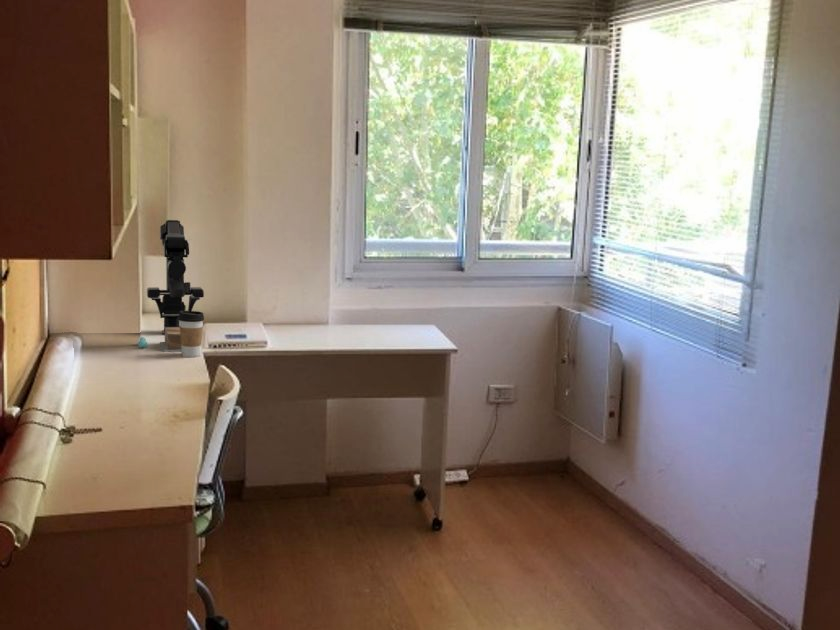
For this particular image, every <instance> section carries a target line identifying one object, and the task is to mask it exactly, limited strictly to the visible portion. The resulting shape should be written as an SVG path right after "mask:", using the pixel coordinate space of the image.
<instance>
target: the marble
mask: <svg viewBox="0 0 840 630" xmlns="http://www.w3.org/2000/svg"><path fill="white" fill-rule="evenodd" d="M137 345H138V347H139V348H141V349H144V348H146V347H147V346H148V341H147V340H146V341H145V340H143V339H142V340H140V341H139V342H138V343H137Z"/></svg>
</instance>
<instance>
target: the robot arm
mask: <svg viewBox="0 0 840 630" xmlns="http://www.w3.org/2000/svg"><path fill="white" fill-rule="evenodd" d="M184 228H185V227H184V225H182V224H181V220H178V219H167V220H165V222H164V224H162V225H160V227H159V240H161V245H162V246H163V247H162V248H163V256H164V258H165V260H166V262H165V265H166V267H165V268H166V270H165V271H166V275H165V276H166V278H165V279H166V280H165V281H166V289H160V287H148V288H146V296H147V299H151V301H154V302H155V303H156V306H157V309H158V312H159V317H160V319H162V318H163V329H162V330H161V331H162V334H163V335H164V336H165V327H180V320H179V318H178V317H179V312H180V311H186V305H185V303H184V301H183V297H185V296H188V298H189V299H188V306H187V307H188V309H187V311H193V308H194V306H195V304H196V302H197V301H199V300H200V299H201V298H204V297H205V296H204V295H205V292H204V289H203V288H202V287H199V286H198V287H196V286H194V287H193V286H191V282H190V281H187V282H186V281H185V273H186V270H187V266H186V264H185V259H184V258H188V257H189V255H190V243H189V242H188V239H186V237H185V231H184V230H185V229H184ZM161 296H162V297H161Z"/></svg>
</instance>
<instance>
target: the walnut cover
mask: <svg viewBox="0 0 840 630" xmlns="http://www.w3.org/2000/svg"><path fill="white" fill-rule="evenodd" d="M164 342H165V344H166V346H167V349H168V350H182V346H181V336H180V327H165V335H164Z"/></svg>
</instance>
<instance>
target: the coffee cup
mask: <svg viewBox="0 0 840 630" xmlns="http://www.w3.org/2000/svg"><path fill="white" fill-rule="evenodd" d="M178 318H179V320H180V336H181V346H182V351H181V355H182V357H185V358H196V357H198V358H199V357H200V356H201V351H202V349H201V347H202V339H203V331H204V325H203V323H204V320H205V315H204V313H203V312H202V311H196V310H195V311H194V310H192V311H188V310H185V311H180V312H179V317H178Z"/></svg>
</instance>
